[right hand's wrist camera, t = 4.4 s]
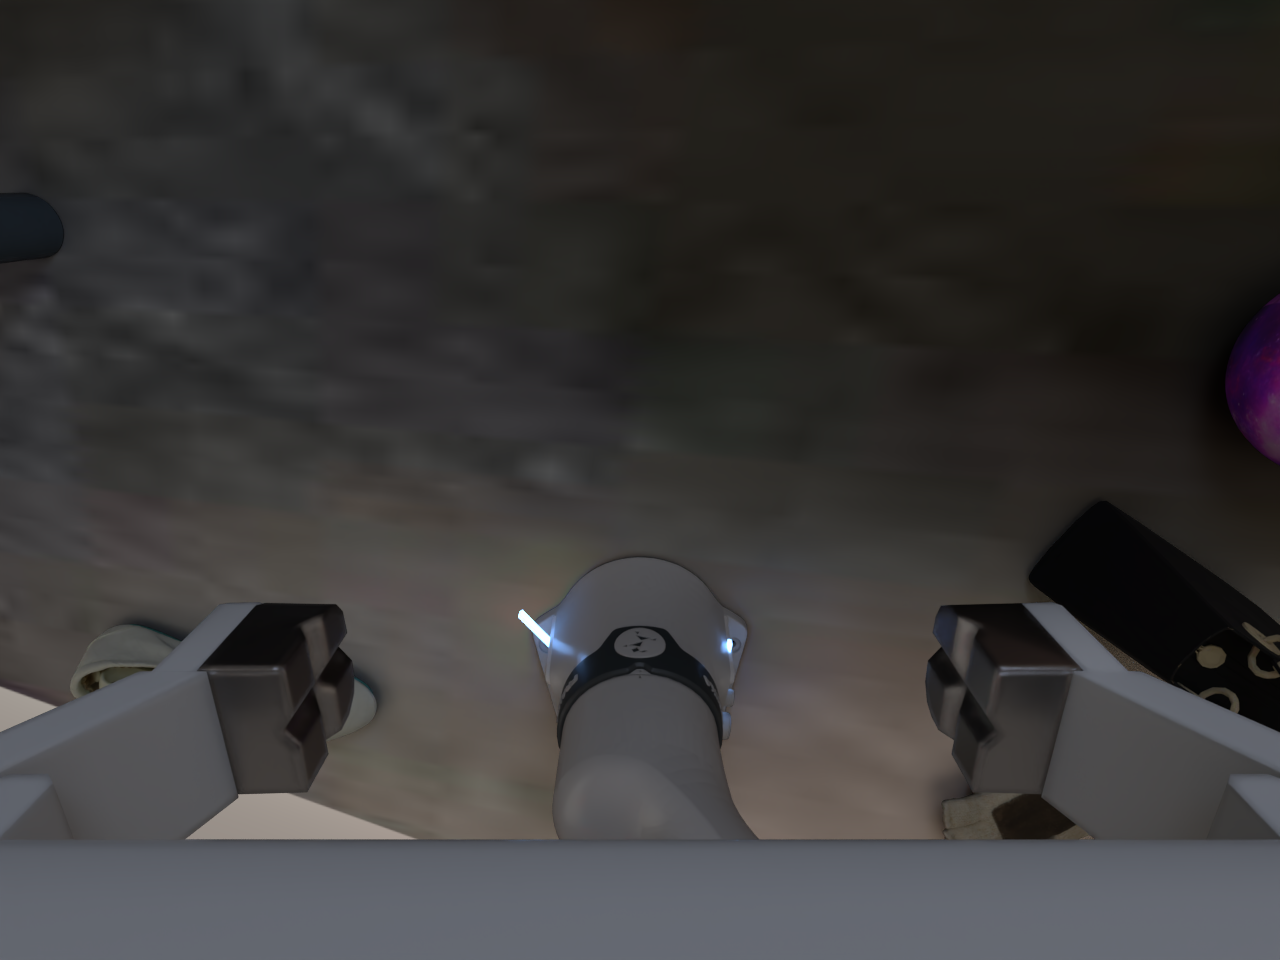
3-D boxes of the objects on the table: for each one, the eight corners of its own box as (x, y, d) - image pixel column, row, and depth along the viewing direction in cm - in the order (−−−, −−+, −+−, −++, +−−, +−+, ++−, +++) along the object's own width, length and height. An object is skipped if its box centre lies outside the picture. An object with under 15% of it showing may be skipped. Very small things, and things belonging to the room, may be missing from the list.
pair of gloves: (914, 771, 72) (934, 814, 67) (1187, 686, 68) (1229, 725, 63) (985, 970, 82) (1007, 1020, 77) (1226, 905, 79) (1265, 953, 74)
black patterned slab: (1013, 571, 64) (1226, 793, 41) (1090, 488, 61) (1366, 676, 38) (1181, 679, 68) (1461, 937, 45) (1260, 606, 65) (1603, 841, 42)
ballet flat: (370, 743, 71) (339, 808, 63) (104, 676, 68) (39, 736, 61) (387, 672, 68) (357, 732, 60) (109, 599, 65) (42, 653, 58)
